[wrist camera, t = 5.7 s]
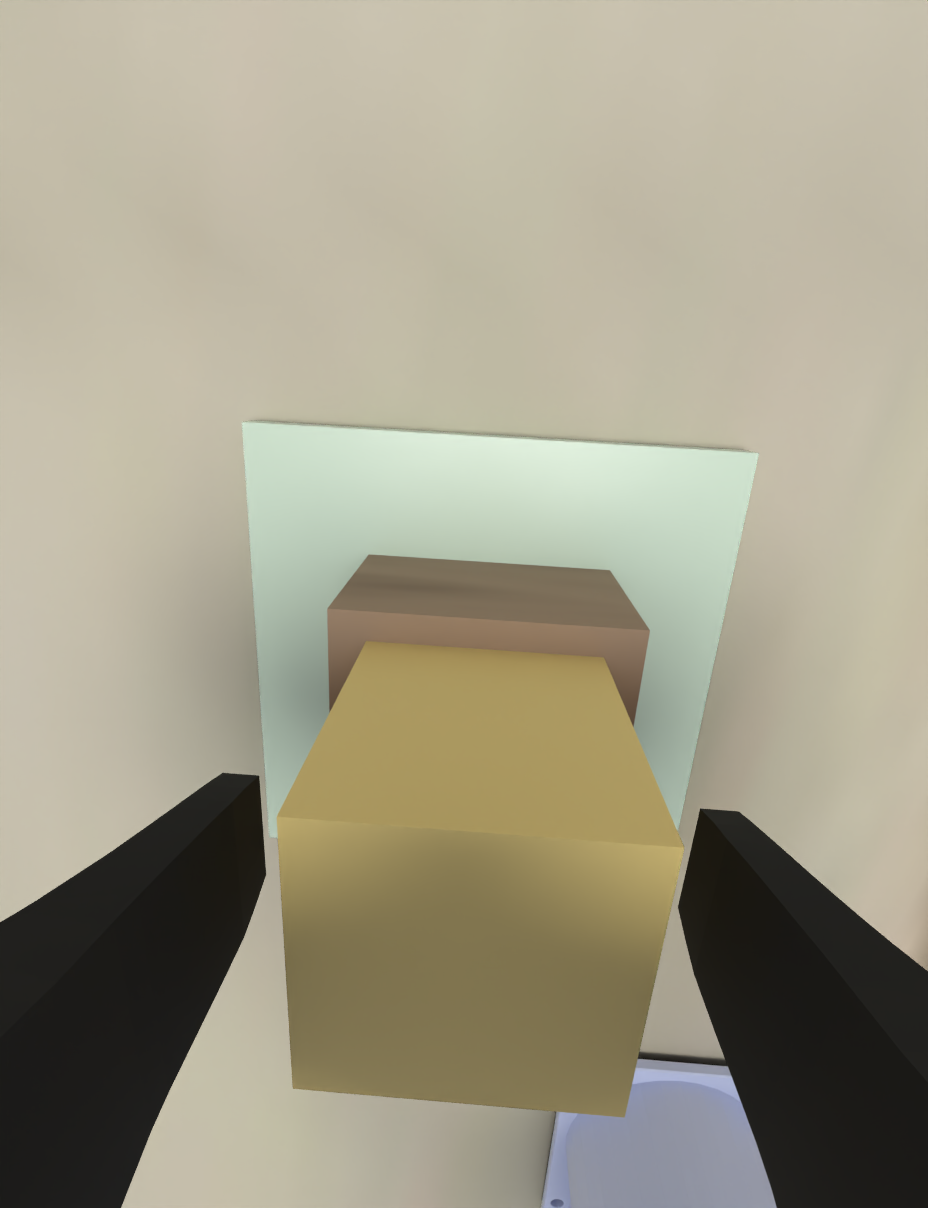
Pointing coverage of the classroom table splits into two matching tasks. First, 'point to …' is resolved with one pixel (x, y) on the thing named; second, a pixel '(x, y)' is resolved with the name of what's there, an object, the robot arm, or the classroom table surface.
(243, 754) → the classroom table surface
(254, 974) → the classroom table surface
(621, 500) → the build plate
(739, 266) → the classroom table surface
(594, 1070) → the brick
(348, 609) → the base block
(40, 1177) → the robot arm
